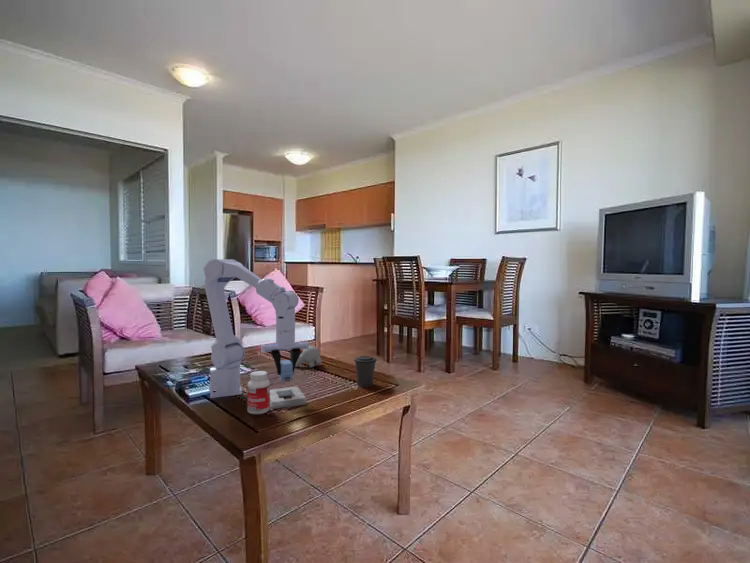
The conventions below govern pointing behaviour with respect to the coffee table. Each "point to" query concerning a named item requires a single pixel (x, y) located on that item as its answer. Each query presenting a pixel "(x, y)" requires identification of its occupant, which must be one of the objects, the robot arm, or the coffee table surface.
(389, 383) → the coffee table surface
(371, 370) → the coffee cup
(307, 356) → the round bodied animal figurine
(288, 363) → the block
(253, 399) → the pill bottle
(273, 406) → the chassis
